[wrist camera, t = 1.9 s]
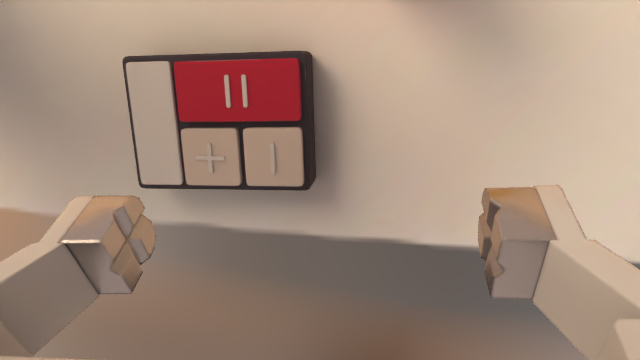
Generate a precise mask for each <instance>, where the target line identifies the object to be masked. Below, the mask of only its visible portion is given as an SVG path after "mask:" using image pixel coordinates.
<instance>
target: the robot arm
mask: <svg viewBox="0 0 640 360" xmlns="http://www.w3.org/2000/svg"><path fill="white" fill-rule="evenodd" d="M481 202H482V206H483V210H484V213H483V214H482V215H481V216H480V217H479V224H478V242H479V249H480V254H481V258H482V259H484V260H485V261H486V262H487V263H486V269H485V276H486V281H487V285H488V289H489V293H490V298H499V299H524V300H532V302H533V303H534V304H535V305H536V306H537V307H538V308H539V309H540V310H541V311H542V312H543V313H544V315H545V316H546V317H547V318H548V319H549V320H550V321H551V322H552V323H553V324H554V325H555V326H556V327H557V328H558V329H559V330H560V331H561V332H562V334H563V335H564V336H565V337H566V338H567V339H568V340H569V341H570V342H571V343H572V344H573V345H574V346H575V347H576V348H577V349H578V350H579V351H580V352H581V353H582V355H583V356H584V357H585V358H586V359H587V360H640V270H639V269H638V268H636V267H635V266H633V265H632V264H630V263H629V262H627V261H626V260H624V259H623V258H621V257H620V256H618V255H617V254H615V253H614V252H612V251H611V250H609V249H608V248H606V247H605V246H603V245H602V244H600V243H599V242H597V241H596V240H587V238H586V236H585V234H584V232H583V230H582V228H581V226H580V224H579V222H578V220H577V218H576V216H575V214H574V212H573V210H572V208H571V206H570V204H569V202H568V200H567V198H566V196H565V194H564V192H563V190H562V188H561V187H560V186H558V185H553V186H533V187H508V188H485V189H484V191H483V195H482V201H481ZM144 209H145V207H144V206H143V204H142V202H141V200H140V198H138V197H135V196H78V197H76V198H74V199H72V200H71V202H70V203H69V204H68V206H67V207H66V208H65V209H64V211H63V212H62V213H61V214H60V216H59V217H58V218H57V220H56V221H55V222H54V223H53V225H52V226H51V227H50V228H49V230H48V231H47V232H46V234H45V235H44V236H43V237H42V239H41V240H40V241H39V242H38V243H32V244H30V245H28V246H27V247H25V248H23V249H22V250H20V251H18V252H17V253H15V254H13V255H11V256H10V257H8V258H7V259H5V260H3V261H2V262H0V360H99V359H71V358H43V357H42V358H41V357H34V354H36V353H37V352H38V351H39V350H40V349H41V348H42V347H43V346H44V345H45V344H47V343H48V342H49V341H50V340H51V339H52V338H53V337H54V336H55V335H57V334H58V333H59V332H60V331H61V330H62V329H63V328H64V327H65V326H66V325H68V324H69V323H70V322H71V321H72V320H73V319H74V318H76V317H77V316H78V315H79V314H80V313H81V312H82V311H83V310H84V309H85V308H87V307H88V306H89V305H90V304H91V303H92V302H93V301H94V300H96V299H97V298H98V297H99V294H132V292H133V290H134V288H135V286H136V284H137V282H138V280H139V278H140V276H141V275H142V273H143V271H142V268H141V264H142V263H144V262H145V261H146V260H148V259H149V258H150V257H151V255H152V253H153V250H154V248H155V240H156V235H155V229H154V226H153V224H152V222H151V221H150V220H149V219H148V218H146V217H145V216H143V215H142V214H143V211H144Z"/></svg>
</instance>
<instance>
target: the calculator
mask: <svg viewBox="0 0 640 360" xmlns="http://www.w3.org/2000/svg"><path fill="white" fill-rule="evenodd" d="M123 69H124V77H125V84H126V92H127V99H128V107H129V114H130V121H131V129H132V136H133V144H134V151H135V159H136V166H137V174H138V181H139V185H140V186H141V187H142V188H158V189H237V190H308V189H309V188H310V187H311V185H312V184H313V182H314V180H315V178H316V169H315V137H314V105H313V72H312V55H311V54H310V53H309V52H307V51H282V52H250V53H219V54H187V55H155V56H128V57H125V58H124V59H123Z"/></svg>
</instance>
